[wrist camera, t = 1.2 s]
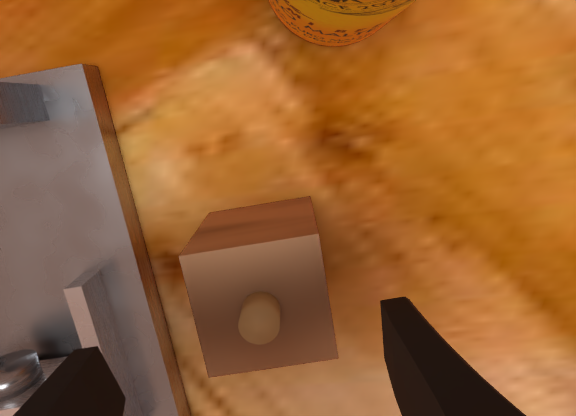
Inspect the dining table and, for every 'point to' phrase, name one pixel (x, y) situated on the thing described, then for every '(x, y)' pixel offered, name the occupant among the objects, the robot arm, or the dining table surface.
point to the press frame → (77, 240)
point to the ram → (22, 377)
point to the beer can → (336, 18)
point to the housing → (259, 288)
